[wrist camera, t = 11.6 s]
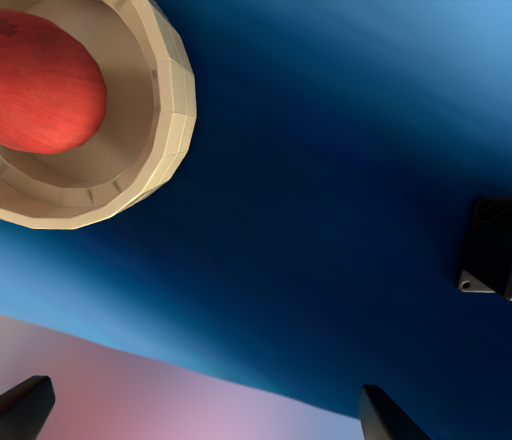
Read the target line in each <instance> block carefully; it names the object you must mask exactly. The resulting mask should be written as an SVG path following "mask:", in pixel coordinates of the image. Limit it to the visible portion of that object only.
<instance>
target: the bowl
mask: <svg viewBox="0 0 512 440" xmlns="http://www.w3.org/2000/svg"><path fill="white" fill-rule="evenodd" d="M0 9H10V10H14V11H19V12H24V13H28V14H33V15H36V16H39V17H42V18H45V19H48V20H50V21H51V22H53V23H54V24H55V25H57V26H58V27H60V28H61V29H63V30H64V31H65V32H67V33H68V34H70V35H71V36H72V37H74V38H75V39H76V40H78V41H79V42H80V43H82V44H83V45H84V47H85V48H86V49H87V51H88V52H89V53H90V54H91V56H92V57H93V58H94V60H95V61H96V62H97V64H98V65H99V68H100V71H101V73H102V76H103V79H104V82H105V85H106V87H107V102H106V114H105V116H104V118H103V120H102V122H101V124H100V127H99V129H98V131H97V133H96V134H94V135H93V136H92V137H91V138H90V139H89V140H88V141H87V142H86V143H85V144H83V145H82V146H80V147H76V148H73V149H70V150H66V151H63V152H59V153H56V154H43V153H34V152H24V151H17V150H14V149H11V148H8V147H6V146H4V145H3V144H1V143H0V219H3V220H6V221H9V222H12V223H16V224H19V225H22V226H25V227H29V228H34V229H76V228H79V227H82V226H86V225H89V224H92V223H95V222H98V221H101V220H104V219H107V218H110V217H112V216H114V215H116V214H118V213H119V212H121V211H123V210H125V209H126V208H128V207H130V206H132V205H134V204H135V203H137V202H139V201H141V200H143V199H144V198H146V197H147V196H149V195H150V194H151V193H153V192H154V191H155V190H157V189H158V188H159V187H160V186H162V185H163V184H164V183H166V182H167V181H168V180H169V179H170V178H171V177H172V175H173V174H174V172H175V170H176V169H177V167H178V166H179V164H180V163H181V161H182V159H183V158H184V156H185V155H186V153H187V151H188V148H189V144H190V140H191V136H192V132H193V128H194V124H195V120H196V97H195V79H194V74H193V71H192V69H191V66H190V63H189V60H188V57H187V54H186V51H185V48H184V46H183V43H182V40H181V37H180V35H179V34H178V32H177V31H176V30H175V28H174V27H173V25H172V24H171V22H170V21H169V19H168V18H167V17H166V15H165V14H164V12H163V11H162V9H161V8H160V7H159V5H158V4H157V2H156V1H155V0H0Z"/></svg>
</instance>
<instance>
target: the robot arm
mask: <svg viewBox="0 0 512 440" xmlns="http://www.w3.org/2000/svg"><path fill="white" fill-rule="evenodd" d="M484 202H485V205H484V207H483V208H481V205H482V204H483V203H484ZM458 265H459V267H458V271H457V275H456V280H455V286H456V287H457V288H458V289H460V290H461V291H463V292H495V293H497V294H498V295H499V296H501V297H502V298H504V299H505V300H508V301H511V302H512V197H479V198H477V199H476V200H475V201H474V202H473V205H472V209H471V214H470V218H469V223H468V227H467V231H466V233H465V237H464V242H463V246H462V250H461V255H460V259H459V264H458ZM464 282H466V284H465V285H463V283H464ZM54 403H55V393H54V390H53V386H52V382H51V379H50V377H48V376H37V375H36V376H32V377H30V378H29V379H27V380H25V381H23V382H22V383H20V384H18V385H17V386H15V387H13V388H12V389H10V390H8V391H7V392H5V393H3V394H2V395H0V440H36V439H37V437H38V435H39V433H40V431H41V429H42V428H43V426H44V424H45V422H46V419H47V418H48V416H49V414H50V412H51V410H52V408H53V406H54ZM359 416H360V421H361V425H362V430H363V434H364V438H365V440H431V439H430V438H429V437H428V436H427V435H426V434H425V433H424V432H423V431H422V430H421V429H420V428H419V427H418V426H417V425H416V424H415V422H414V421H413V420H412V419H411V418H410V417H409V416H408V415H407V414H406V413H405V412H404V411H403V410H402V409H401V408H400V407H399V406H398V405H397V404H396V403H395V402H394V401H393V400H392V399H391V398H390V397H389V396H388V395H387V394H386V393H385V392H384V391H383V390H382V389H381V388H380V387H379V386H377V385H367V384H364V385H362V387H361V393H360V400H359Z"/></svg>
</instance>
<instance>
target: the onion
mask: <svg viewBox="0 0 512 440" xmlns="http://www.w3.org/2000/svg"><path fill="white" fill-rule="evenodd" d="M106 102H107V87H106V85H105V82H104V79H103V76H102V73H101V71H100V68H99V65H98V64H97V62H96V61H95V60H94V58H93V57H92V56H91V54H90V53H89V52H88V51H87V49H86V48H85V47H84V45H83V44H82V43H80V42H79V41H78V40H76V39H75V38H74V37H72V36H71V35H70V34H68V33H67V32H65V31H64V30H63V29H61V28H60V27H58V26H57V25H55V24H54V23H53V22H51V21H50V20H48V19H45V18H42V17H39V16H36V15H33V14H28V13H24V12H19V11H14V10H10V9H0V143H1V144H3V145H4V146H6V147H8V148H11V149H14V150H17V151H24V152H34V153H43V154H56V153H59V152H63V151H66V150H70V149H73V148H76V147H80V146H82V145H83V144H85V143H86V142H87V141H88V140H89V139H90V138H91V137H92V136H93V135H94V134H96V133H97V131H98V129H99V127H100V124H101V122H102V120H103V118H104V116H105V114H106Z"/></svg>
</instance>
